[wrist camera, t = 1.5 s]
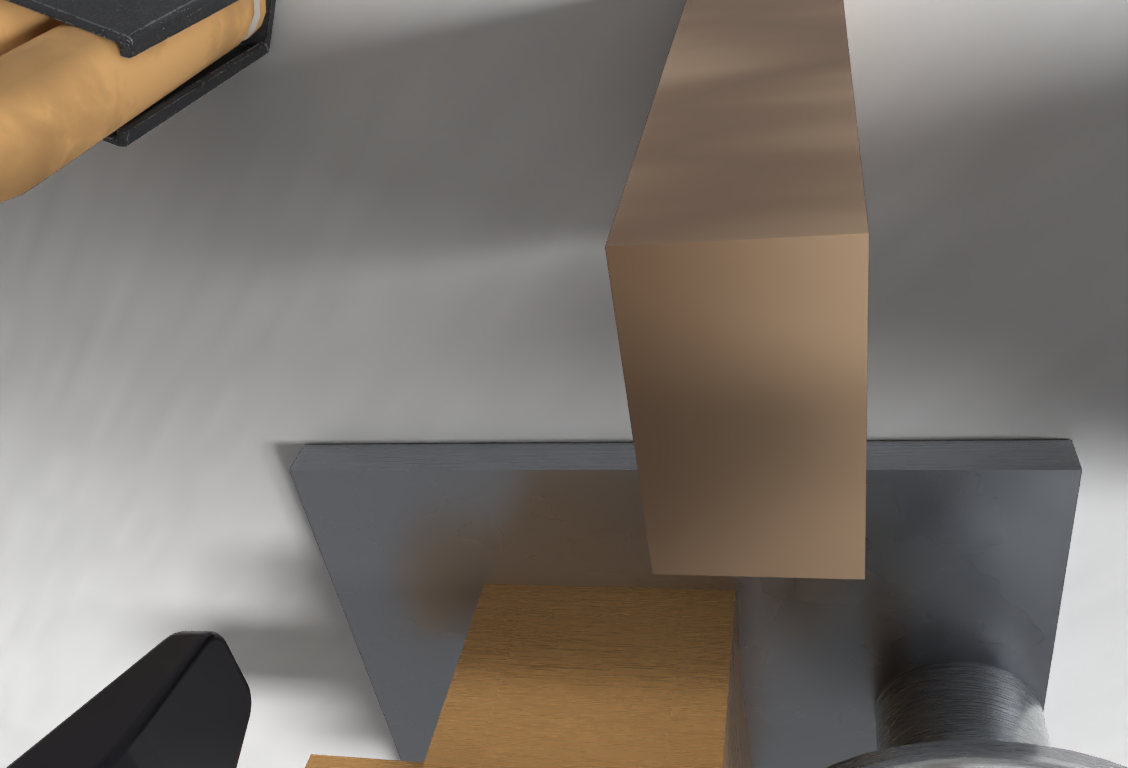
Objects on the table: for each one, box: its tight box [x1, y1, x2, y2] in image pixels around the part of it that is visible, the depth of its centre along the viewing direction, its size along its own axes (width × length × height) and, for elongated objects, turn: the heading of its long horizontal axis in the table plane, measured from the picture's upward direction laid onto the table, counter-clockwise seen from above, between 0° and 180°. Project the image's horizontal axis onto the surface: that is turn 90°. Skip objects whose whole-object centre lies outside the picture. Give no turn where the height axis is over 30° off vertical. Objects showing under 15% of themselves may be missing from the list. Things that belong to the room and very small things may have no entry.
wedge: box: [605, 0, 869, 579], centre depth 15 cm, size 2×4×10 cm, turn 9°
